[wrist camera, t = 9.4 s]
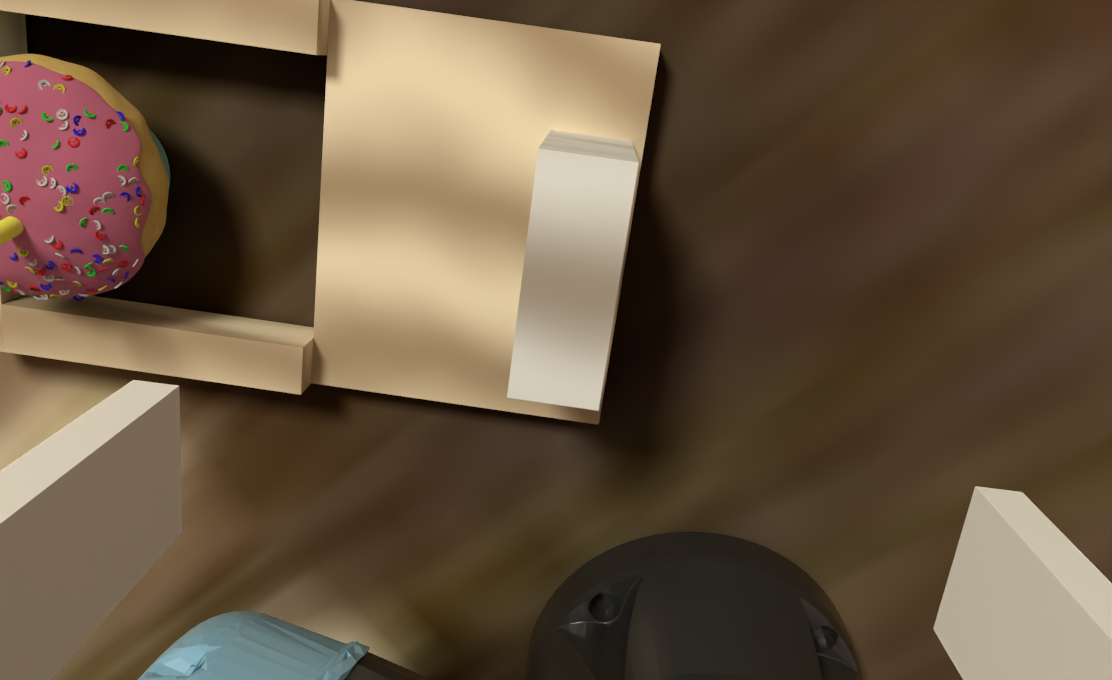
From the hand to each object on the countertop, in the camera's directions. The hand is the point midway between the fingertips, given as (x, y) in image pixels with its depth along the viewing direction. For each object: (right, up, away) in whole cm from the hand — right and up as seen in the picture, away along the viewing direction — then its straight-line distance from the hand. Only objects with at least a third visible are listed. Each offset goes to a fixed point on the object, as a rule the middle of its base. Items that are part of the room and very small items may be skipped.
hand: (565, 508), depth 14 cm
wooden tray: (-10, +9, +20) cm, 24 cm away
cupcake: (-18, +10, +21) cm, 29 cm away
